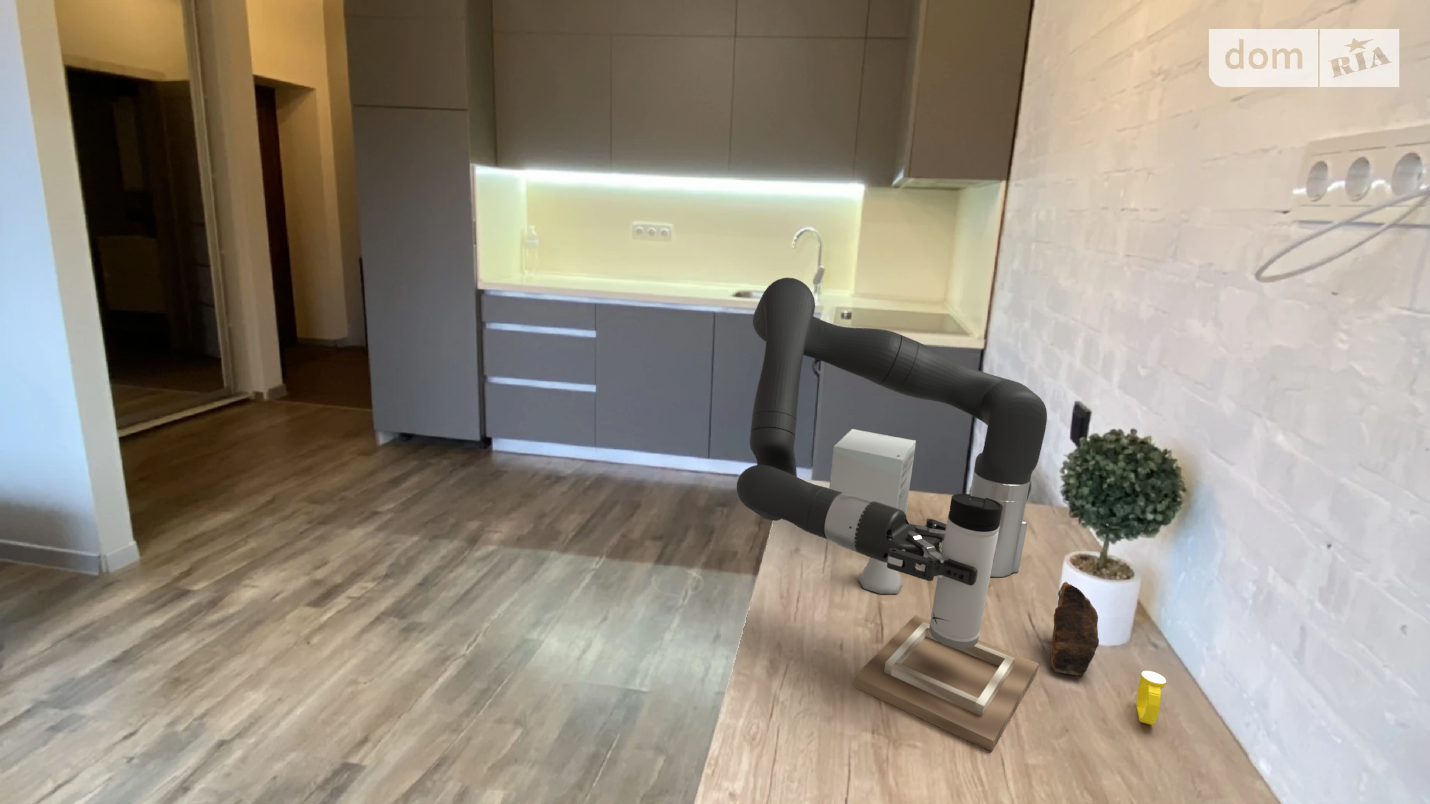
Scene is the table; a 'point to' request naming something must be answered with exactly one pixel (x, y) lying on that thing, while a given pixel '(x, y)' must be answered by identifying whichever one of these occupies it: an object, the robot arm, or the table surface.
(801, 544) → the table surface
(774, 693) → the table surface
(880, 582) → the flask
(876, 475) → the supplement box
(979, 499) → the travel mug
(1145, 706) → the watch
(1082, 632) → the decorative rock
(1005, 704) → the wooden square tray
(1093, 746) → the table surface
